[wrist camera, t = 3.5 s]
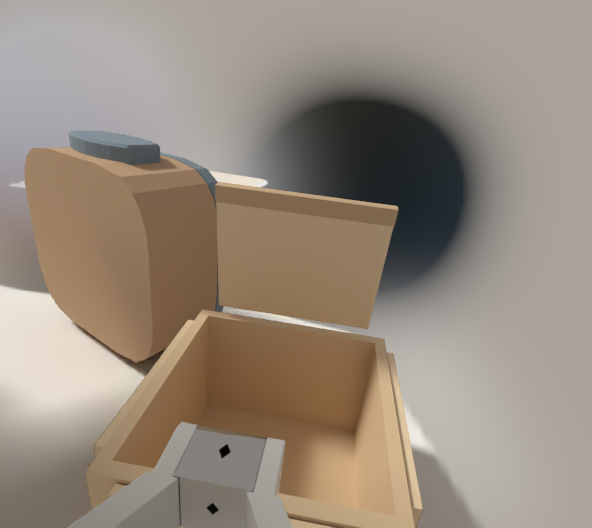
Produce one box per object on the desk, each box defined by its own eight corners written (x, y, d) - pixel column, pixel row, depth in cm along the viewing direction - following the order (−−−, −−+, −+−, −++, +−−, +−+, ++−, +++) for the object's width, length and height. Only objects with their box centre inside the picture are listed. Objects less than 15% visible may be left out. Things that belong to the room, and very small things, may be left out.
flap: (368, 329, 29) (398, 209, 24) (218, 305, 30) (215, 184, 25) (368, 324, 30) (397, 206, 24) (220, 300, 30) (218, 181, 25)
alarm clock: (226, 345, 43) (234, 152, 34) (156, 390, 35) (142, 158, 27) (120, 285, 53) (105, 124, 44) (48, 310, 45) (13, 122, 37)
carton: (89, 604, 20) (63, 481, 16) (195, 400, 35) (195, 308, 31) (384, 671, 19) (433, 557, 15) (368, 431, 34) (391, 339, 30)
